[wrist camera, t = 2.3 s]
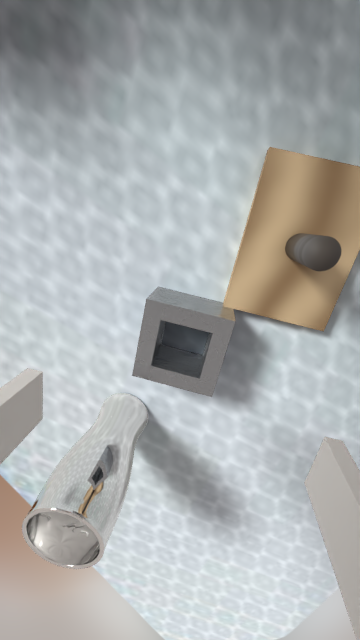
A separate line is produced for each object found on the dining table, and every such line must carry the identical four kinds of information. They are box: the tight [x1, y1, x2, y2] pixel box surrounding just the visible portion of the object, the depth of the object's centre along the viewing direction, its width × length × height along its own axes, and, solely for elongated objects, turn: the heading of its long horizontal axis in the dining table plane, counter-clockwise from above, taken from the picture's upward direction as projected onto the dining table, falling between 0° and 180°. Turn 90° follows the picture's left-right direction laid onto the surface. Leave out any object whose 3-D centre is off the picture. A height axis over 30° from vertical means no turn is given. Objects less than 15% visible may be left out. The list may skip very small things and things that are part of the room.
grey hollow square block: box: [132, 287, 236, 397], centre depth 28 cm, size 8×8×5 cm
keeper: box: [223, 147, 360, 331], centre depth 22 cm, size 10×14×7 cm
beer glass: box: [22, 393, 148, 569], centre depth 28 cm, size 7×7×15 cm
